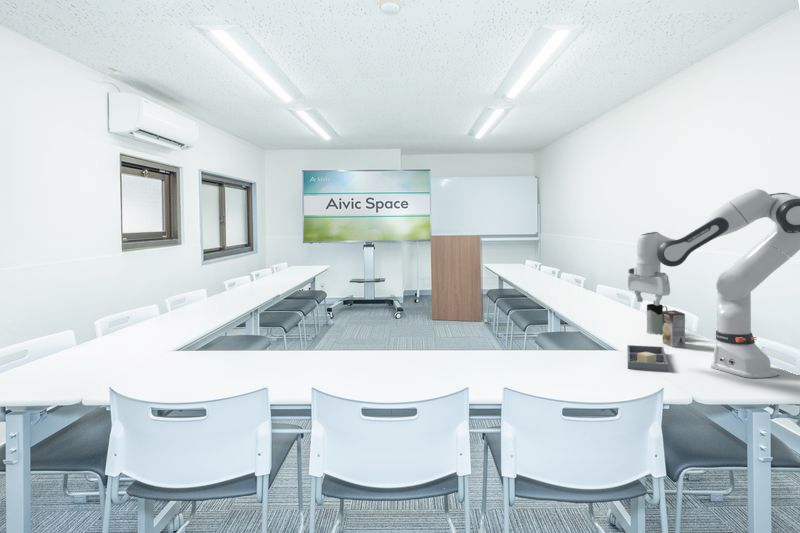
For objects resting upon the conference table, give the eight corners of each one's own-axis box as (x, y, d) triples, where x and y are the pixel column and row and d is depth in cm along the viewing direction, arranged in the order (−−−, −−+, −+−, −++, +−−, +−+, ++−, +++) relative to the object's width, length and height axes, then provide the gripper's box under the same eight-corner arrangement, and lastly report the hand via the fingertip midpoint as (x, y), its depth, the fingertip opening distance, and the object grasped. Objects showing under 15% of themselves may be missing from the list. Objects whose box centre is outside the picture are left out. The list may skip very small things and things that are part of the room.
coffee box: (661, 342, 230) (661, 310, 229) (675, 342, 230) (674, 310, 229) (672, 347, 221) (671, 314, 220) (686, 346, 221) (685, 313, 220)
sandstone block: (656, 366, 195) (656, 354, 195) (647, 367, 194) (647, 355, 193) (646, 363, 200) (646, 351, 200) (637, 364, 198) (637, 353, 198)
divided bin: (668, 371, 187) (668, 364, 187) (627, 368, 193) (627, 361, 193) (663, 353, 212) (663, 346, 212) (627, 351, 219) (627, 345, 219)
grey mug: (642, 332, 254) (641, 305, 253) (659, 328, 260) (659, 302, 259) (657, 335, 246) (656, 307, 245) (674, 331, 252) (674, 303, 251)
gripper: (674, 272, 187) (674, 306, 188) (637, 268, 206) (637, 299, 208) (661, 273, 185) (660, 308, 186) (625, 269, 205) (624, 300, 206)
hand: (648, 303), depth 197 cm, fingers open, 8 cm apart
